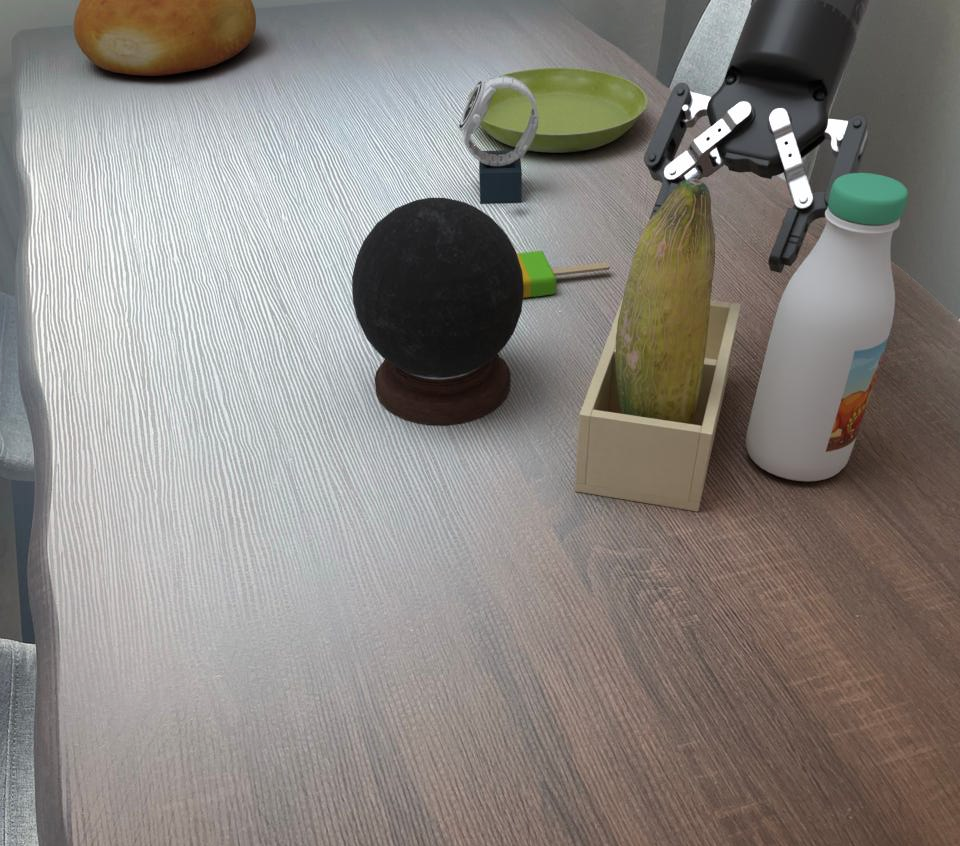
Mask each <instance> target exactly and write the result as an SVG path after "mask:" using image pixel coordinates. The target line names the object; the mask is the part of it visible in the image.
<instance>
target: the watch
mask: <svg viewBox="0 0 960 846" xmlns="http://www.w3.org/2000/svg"><path fill="white" fill-rule="evenodd" d="M500 76H501V75H495V76H490V77H488V78H487V79H486V80H484V81H483V80H480V81H478V82H477V84H476V85H475V87H474V88H473V89H472V91H473V92H472V91H471V92H472V94H471V95H470V97H469V96H468V97H469V99H468V98H467V100H468V102H466V104H465V107H464V108H463V111H462V114H461V117H460V121H459V126H458V128H459V130H460V131H463V142H464V145H465V146H466V148H467V150H468V152H469V153H470V155H472V157H473V158H474V159H476V161H478V186H479V187H478V188H479V203H480V204H511V203H512V204H513V203H514V204H515V203H522V188H523V187H522V185H523V184H522V183H523V182H522V181H523V180H522V179H523V171H522V170H523V169H522V158H523V157H524V156H525V155H526V153H527V152H528V148H529V147H530V145H531V143H532V141H533V139H534V137H535V134H536V131H537V128H538V124H539V118H538V113H537V105H536V101H535V98H534V96H533V94H532V92H531V91H530V89H529V88H528V87H527V86H526V85H525V84H524V83H523V82H521V81H520V80H518V79H516V78H513V77H509V76H501V78H500ZM503 81H504V82H503ZM500 87H502V88H511V89H514V90H519V92H520V93H522V94H523V95H525V96H526V98H527V99H528V100H529V101H530V102H531V105H532V107H533V109H532V110H531V116H530V119H529V122H528V125H527V127H526V129H525V131H524V133H523V135H522V137H521V138H520V140H519V141H518V143H517V145H516V148H515V147H514V149H501V150H498V149H497V150H481V148H479V147H478V146H477V145H475V143H474V142H473V140H472V139H471V135H472V134H474V133H475V132H476V131H477V130H478V129H479V128H480V127H481V126H480V124H481V122H482V121H483V119H484V117H485V115H486V112H487V110H488V108H489V105H490V102H491V99H492V95H493V94H494V93H495V91H496V88H500Z"/></svg>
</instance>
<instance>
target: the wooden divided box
mask: <svg viewBox="0 0 960 846" xmlns="http://www.w3.org/2000/svg"><path fill="white" fill-rule="evenodd" d="M622 301H623V297H622V299H621V301H620V304H619V307H618V308H617V312H616V314H615V317H614V320H613V322H612V325H611V328H610V330H609V334H608V336H607V339H606V342H605V344H604V347H603V350H602V352H601V355H600V358H599V360H598V363H597V365H596V368H595V371H594V373H593V376H592V378H591V382H590V384H589V387H588V389H587V393H586V395H585V398H584V400H583V403H582V406H581V408H580V411H579V414H578V428H577V443H576V459H575V473H574V474H575V476H574V492H577V493H583V494H588V495H595V496H599V497H607V498H611V499H612V498H613V499H619V500H625V501H630V502H637V503H643V504H648V505H656V506H661V507H666V508H673V509H680V510H685V511H690V512H696V513H699V511H700V506H701V502H702V497H703V491H704V489H705V483H706V479H707V474H708V469H709V464H710V460H711V457H712V456H711V455H712V452H713V446H714V442H715V437H716V434H717V433H716V432H717V428H718V423H719V419H720V415H721V410H722V406H723V401H724V396H725V392H726V387H727V382H728V377H729V372H730V368H731V367H730V366H731V362H732V356H733V350H734V346H735V339H736V335H737V329H738V324H739V318H740V312H741V308H742V304H741V303H737V302H729V301H720V300H714V299H711V300H710V313H709V325H708V334H707V343H706V350H705V359H704V365H703V371H702V381H701V390H700V400H699V404H698V408H697V412H696V415H695V418H694V420H693V422H692V424H687V423H680V422H673V421H667V420H660V419H653V418H646V417H640V416H633V415H626V414H621V410H620V405H619V399H618V392H617V382H616V361H615V356H616V333H617V325H618V318H619V314H620V309H621V305H622Z"/></svg>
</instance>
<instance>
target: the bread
mask: <svg viewBox="0 0 960 846" xmlns="http://www.w3.org/2000/svg"><path fill="white" fill-rule="evenodd" d="M256 27H257V14H256V9H255V5H254V3H253V1H252V0H80V1H79V3H78V5H77V7H76V10H75V13H74V19H73V35H74V36H73V37H74V40H76V44H77V46H78V47H79V49H80V51H81V52H82V53H83V55H84V56H85V57H86V58H87V59H88V60H89V61H90V62H91V63H92V64H94V65H95V66H97V67H99V68H100V69H103V70H106V71H109V72H110V73H111V72H112V73H116V74H124V75H130V76H142V77H157V76H161V77H162V76H170V75H177V74H183V73H189V72H192V71H199V70H204V69H207V68H211V67H214V66H216V65H219V64H222V63H224V62H226V61H228V60H229V59H232V58H234V57H235V56H237V55H238V54H239V53H241V52H242V51H243V50H245V48H246V47H247V46H249V44H250V43H251V42H252V40H253V37H254V35H255V31H256Z"/></svg>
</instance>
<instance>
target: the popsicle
mask: <svg viewBox="0 0 960 846" xmlns="http://www.w3.org/2000/svg"><path fill="white" fill-rule="evenodd" d="M516 253H517V252H516ZM517 256H518V260H519V263H520V266H521V269H522V273H523V284H524V293H523V299H526V298H527V299H528V298H535V297H543V296H551V295H554V294H555V293H556V290H557V278H556V277H557V276H565V275H566V276H567V275H568V276H569V275H577V274H585V273H593V272H603V271H608V270H610V269H611V265H610V264H609V262H596V263H588V264H580V265H570V266H569V265H568V266H561V267H551V265H550V264H549V261H548V259H547V257H546V255H545V252H544V251H543V250H536V251H526V252H518V253H517Z"/></svg>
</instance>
